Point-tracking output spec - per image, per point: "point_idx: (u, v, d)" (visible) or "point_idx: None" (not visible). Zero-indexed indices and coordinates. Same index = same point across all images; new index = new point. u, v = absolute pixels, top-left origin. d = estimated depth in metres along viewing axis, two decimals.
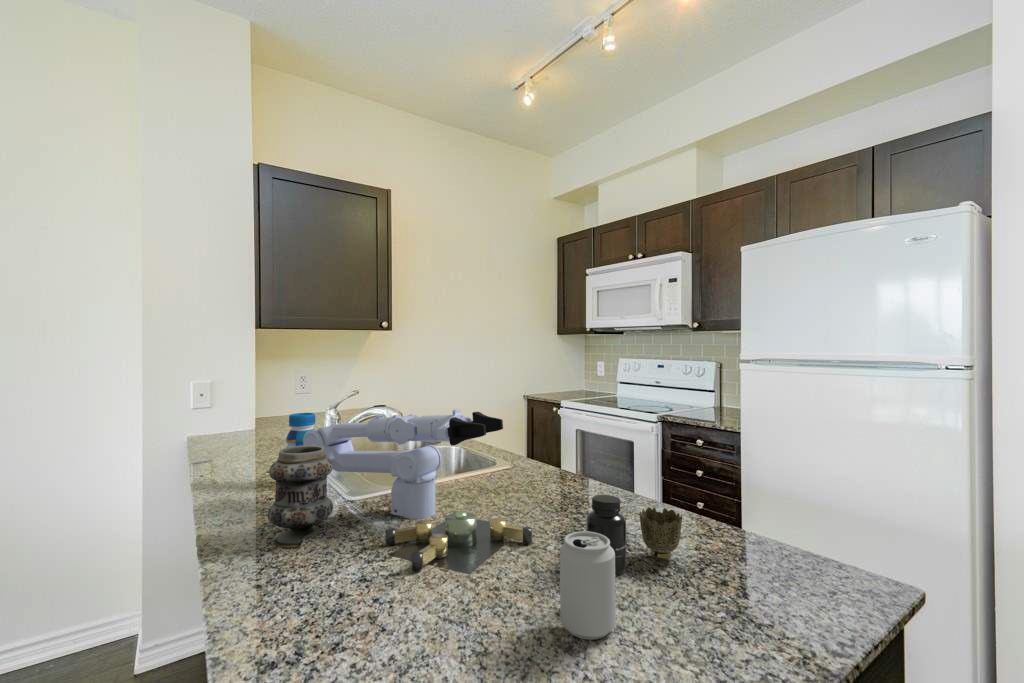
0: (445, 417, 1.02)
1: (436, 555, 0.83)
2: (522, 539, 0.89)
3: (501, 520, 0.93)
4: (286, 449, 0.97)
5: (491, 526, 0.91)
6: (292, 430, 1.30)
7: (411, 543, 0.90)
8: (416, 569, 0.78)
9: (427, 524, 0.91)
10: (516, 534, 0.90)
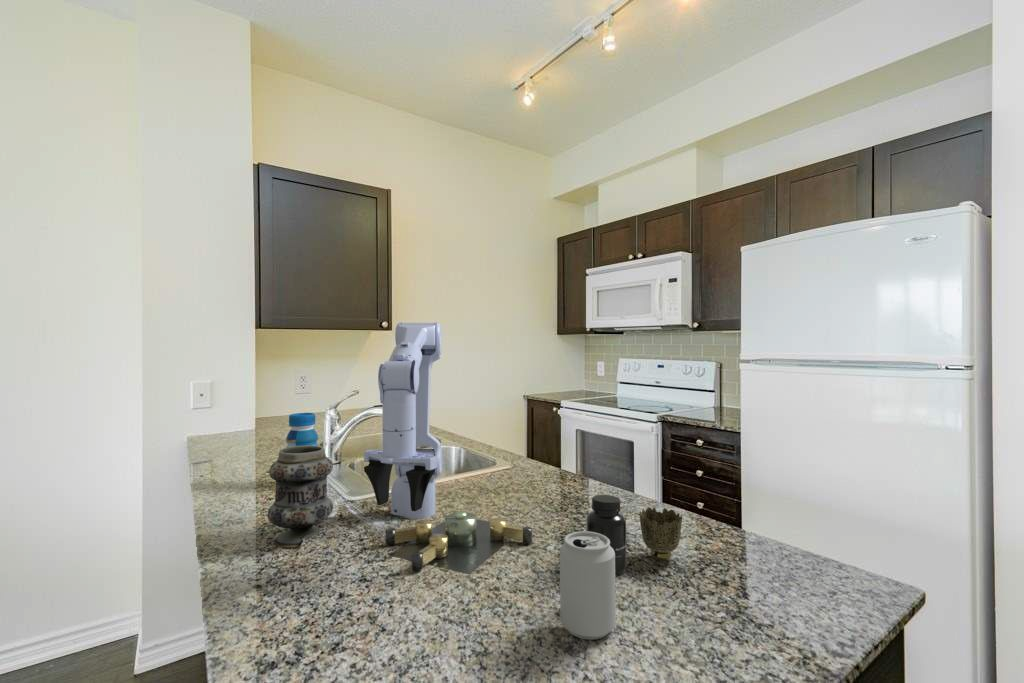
0: (383, 446, 0.82)
1: (436, 555, 0.83)
2: (522, 539, 0.89)
3: (501, 520, 0.93)
4: (286, 449, 0.97)
5: (491, 526, 0.91)
6: (292, 430, 1.30)
7: (411, 543, 0.90)
8: (416, 569, 0.78)
9: (427, 524, 0.91)
10: (516, 534, 0.90)
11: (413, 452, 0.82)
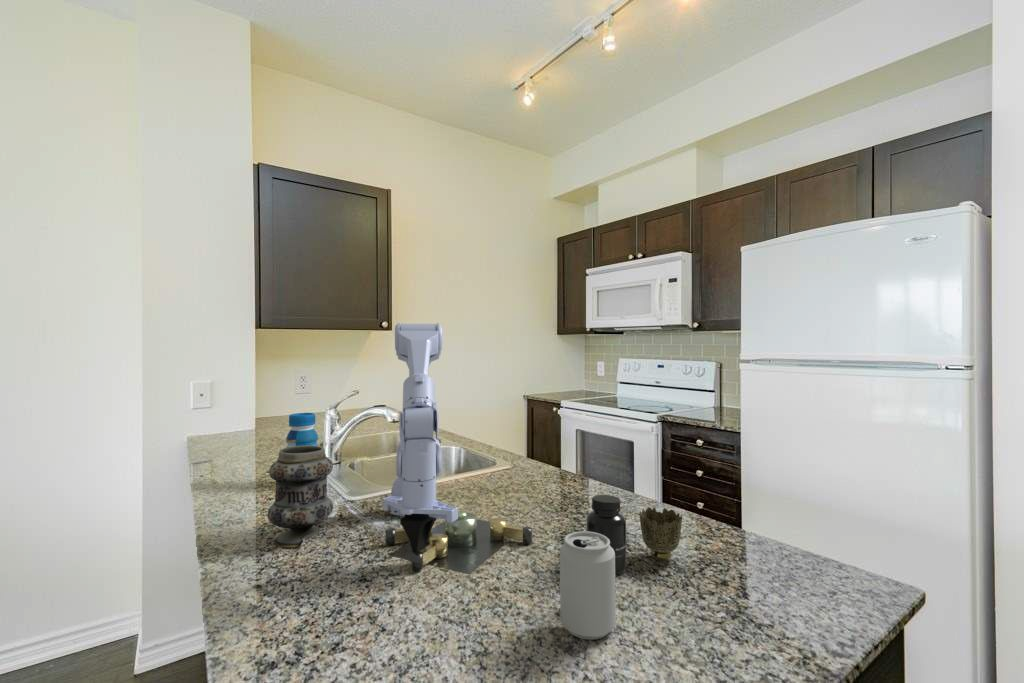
0: (403, 496, 0.80)
1: (436, 555, 0.83)
2: (522, 539, 0.89)
3: (501, 520, 0.93)
4: (286, 449, 0.97)
5: (491, 526, 0.91)
6: (292, 430, 1.30)
7: None
8: (416, 569, 0.78)
9: None
10: (516, 534, 0.90)
11: (434, 501, 0.80)
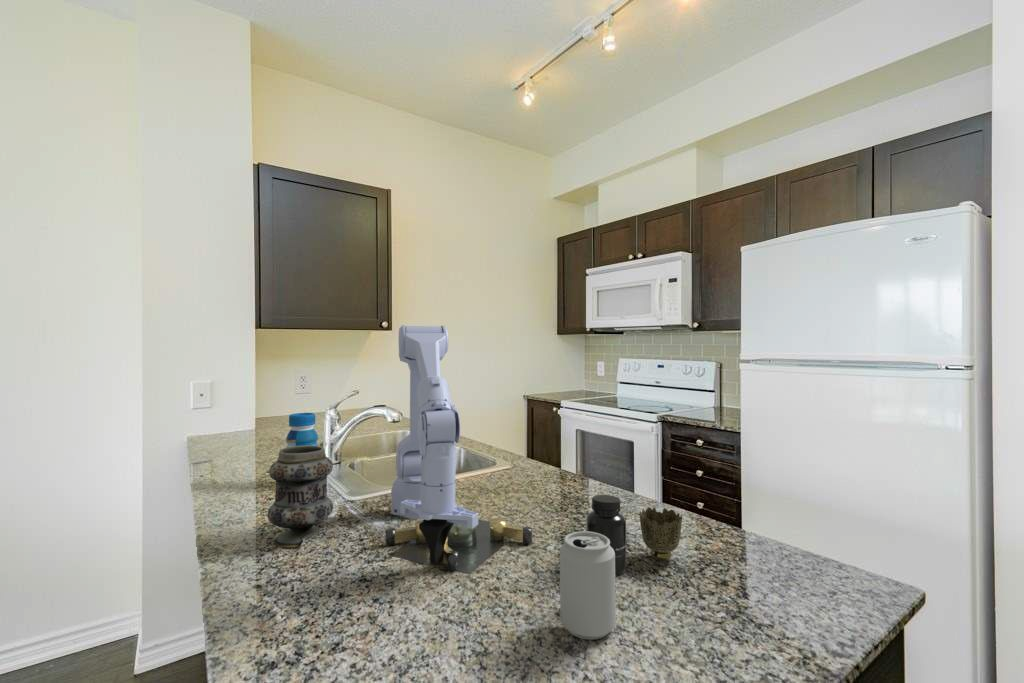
0: (422, 500, 0.78)
1: None
2: (522, 539, 0.89)
3: (501, 520, 0.93)
4: (286, 449, 0.97)
5: (491, 526, 0.91)
6: (292, 430, 1.30)
7: (411, 543, 0.90)
8: (457, 566, 0.79)
9: None
10: (516, 534, 0.90)
11: (453, 506, 0.79)
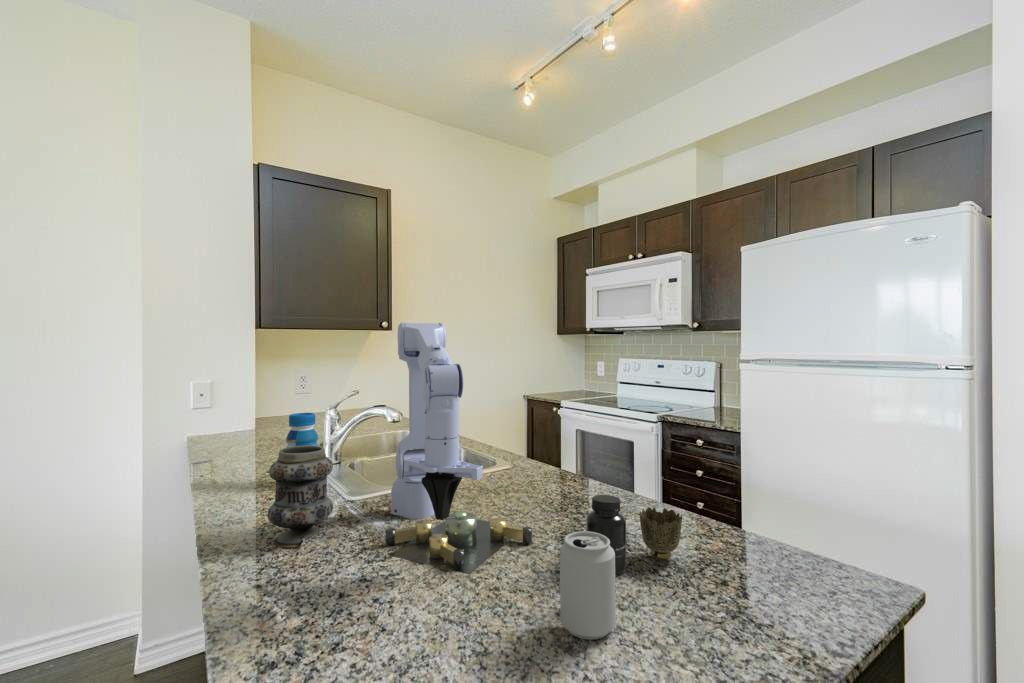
0: (426, 454, 0.78)
1: None
2: (522, 539, 0.89)
3: (501, 520, 0.93)
4: (286, 449, 0.97)
5: (491, 526, 0.91)
6: (292, 430, 1.30)
7: (411, 543, 0.90)
8: (463, 564, 0.79)
9: (427, 524, 0.91)
10: (516, 534, 0.90)
11: (457, 460, 0.79)
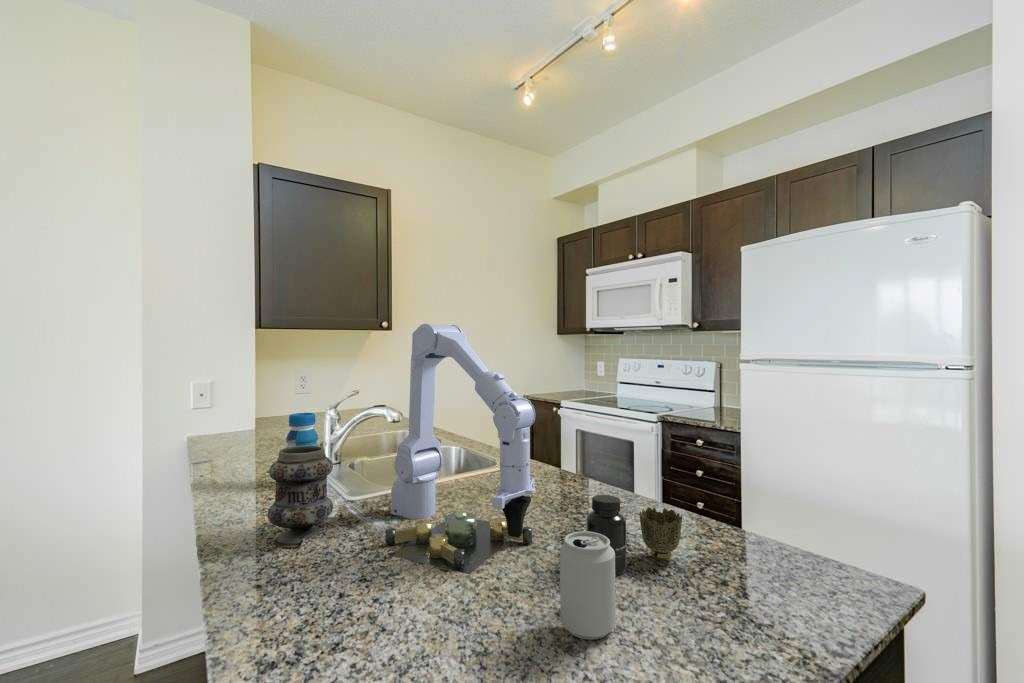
0: (523, 481, 0.88)
1: None
2: (522, 539, 0.89)
3: (501, 520, 0.93)
4: (286, 449, 0.97)
5: (491, 526, 0.91)
6: (292, 430, 1.30)
7: (411, 543, 0.90)
8: (464, 564, 0.80)
9: (427, 524, 0.91)
10: None
11: None
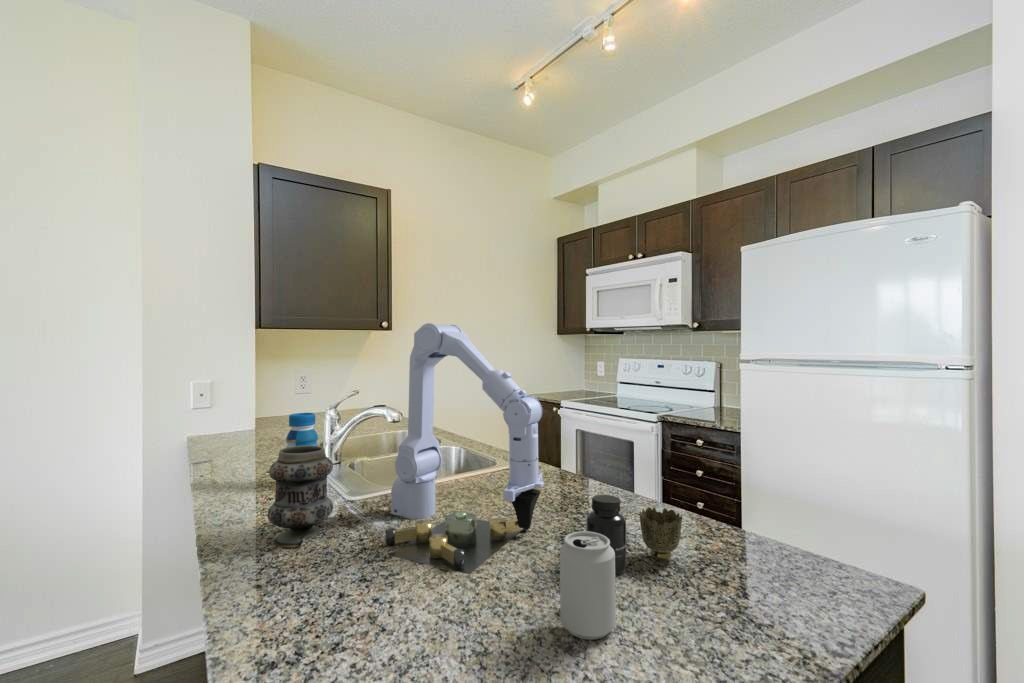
0: (533, 475, 0.91)
1: None
2: (522, 528, 0.95)
3: (497, 519, 0.93)
4: (286, 449, 0.97)
5: (498, 527, 0.91)
6: (292, 430, 1.30)
7: (411, 543, 0.90)
8: (464, 564, 0.80)
9: (427, 524, 0.91)
10: (517, 526, 0.94)
11: None
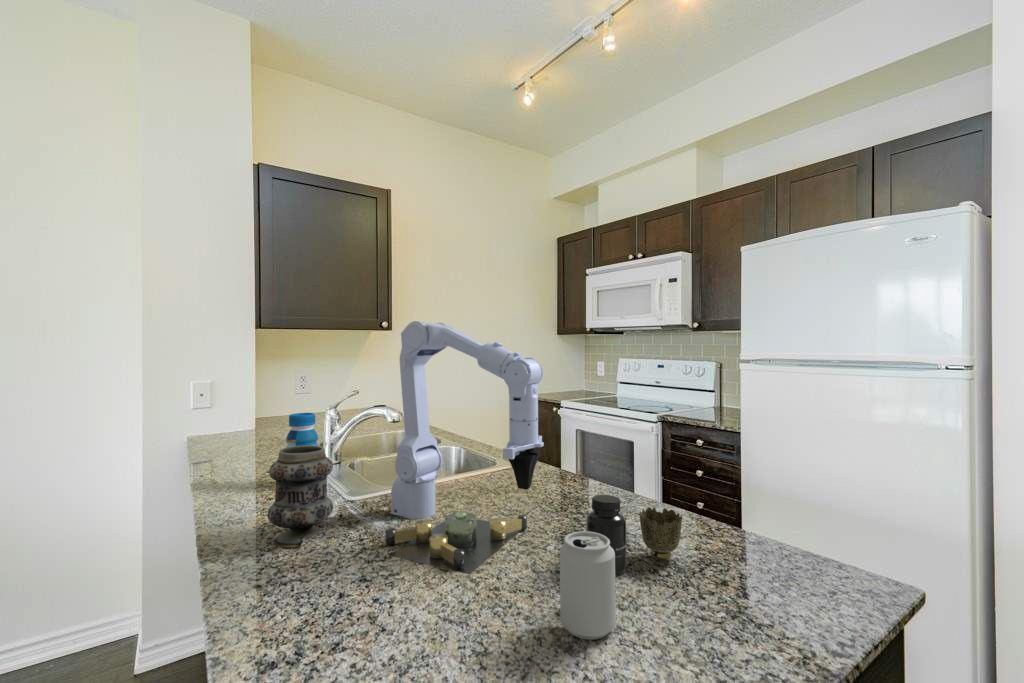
0: (532, 434, 0.92)
1: None
2: (521, 527, 0.95)
3: (497, 519, 0.93)
4: (286, 449, 0.97)
5: (499, 527, 0.91)
6: (292, 430, 1.30)
7: (411, 543, 0.90)
8: (464, 564, 0.80)
9: (427, 524, 0.91)
10: (516, 525, 0.94)
11: None
